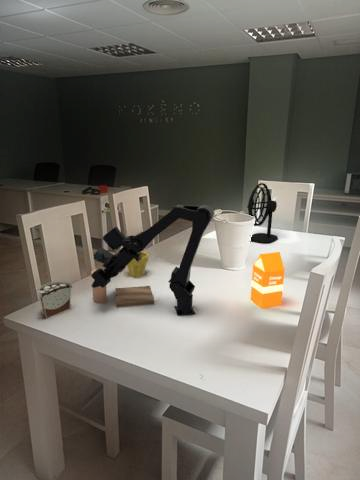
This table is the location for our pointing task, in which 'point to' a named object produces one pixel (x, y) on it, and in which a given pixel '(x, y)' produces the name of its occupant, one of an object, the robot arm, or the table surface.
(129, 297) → the walnut board
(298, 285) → the table surface
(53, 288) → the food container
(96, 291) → the pillar candle
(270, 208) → the desk fan
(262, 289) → the orange juice
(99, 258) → the robot arm
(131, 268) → the plant pot
